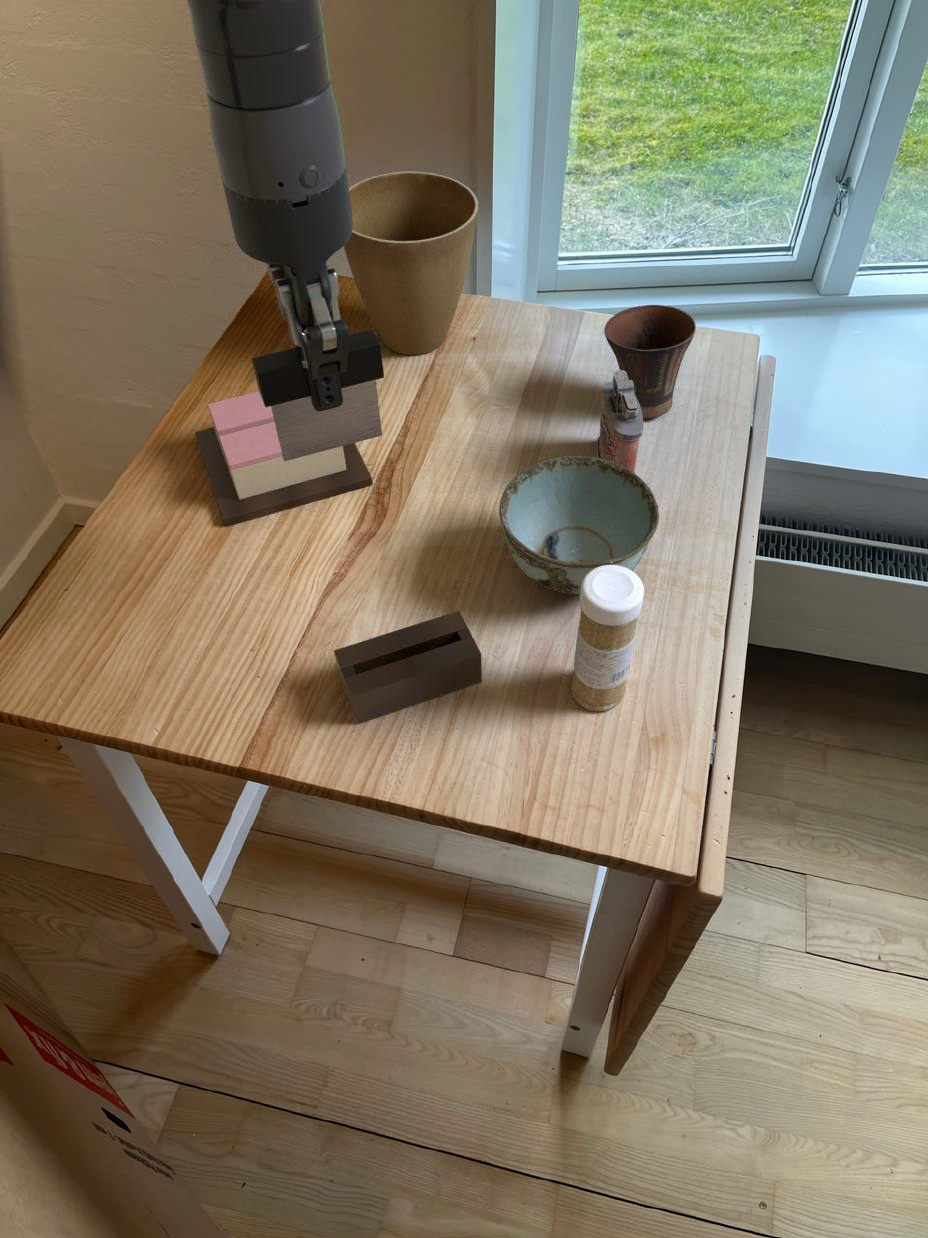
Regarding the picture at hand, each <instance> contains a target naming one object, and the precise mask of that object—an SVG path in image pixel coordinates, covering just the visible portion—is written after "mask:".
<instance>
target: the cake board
mask: <svg viewBox="0 0 928 1238" xmlns="http://www.w3.org/2000/svg"><path fill="white" fill-rule="evenodd" d="M194 435H195V438H196V441H197V444H198V447H199V450H200V453H201V456H202V459H203V462H204V465H205V468H206V471H207V474H208V477H209V481H210V483H211V486H212V489H213V492H214V495H215V498H216V502H217V504H218V508H219V510H220V514H221V516H222V519H223V523H224V526H225V527H230V526H234V525H238V524H240V523H244V522H247V521H251V520H255V519H258V518H262V517H265V516H268V515H272V514H277V513H279V512H282V511H286V510H290V509H292V508H297V507H300V506H304V505H307V504H311V503H314V502H318V501H321V500H325V499H329V498H332V497H335V496H339V495H342V494H346V493H350V492H353V491H356V490H361V489H363V488H367V487H371V486H373V477H372V475H371V474H370V471H369V469H368V467H367V464H366V463H365V461H364V459H363V456H362V454H361V452H360V451H359V449H358V446H357V444H356V443H352V444H348V445H345V446H343V452H344V458H345V464H346V470H344V471H341V472H337V473H333V474H330V475H326V476H323V477H319V478H316V479H312V480H308V481H305V482H301V483H298V484H294V485H291V486H287V487H283V488H280V489H276V490H273V491H269V492H266V493H262V494H258V495H255V496H251V497H248V498H244V499H241V500H239V498H238V495H237V492H236V490H235V487H234V484H233V481H232V478H231V475H230V473H229V469H228V466H227V464H226V461H225V458H224V456H223V453H222V450H221V447H220V444H219V441H218V438H217V435H216V432H215V428H214V426H213V427H208V428H204V429H201V430H198V431H194Z"/></svg>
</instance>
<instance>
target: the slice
mask: <svg viewBox="0 0 928 1238" xmlns="http://www.w3.org/2000/svg"><path fill="white" fill-rule="evenodd" d="M207 408H208V411H209V414H210V417H211V421H212V425H213V427H214V428H215V432H216V435H217V438H218V441H219V444H220V447H221V450H222V453H223V456H224V452H223V449H222V445H221V442H220V439H219V437H221V436H225V435H228V434H232V433H236V432H240V431H243V430H247V429H251V428H255V427H259V426H262V425H266V424H270V423H274V418H273V413H272V409H271V406H270V407H265V405H264V402H263V400H262V397H261V395H260V392H259V390H258V391H255V392H251V393H246V394H242V395H239V396H235V397H234V396H233V397H231V398H227V399H222V400H220V401H216V402H212V403H207ZM224 458H225V456H224ZM225 461H226V459H225ZM226 464H227V463H226Z"/></svg>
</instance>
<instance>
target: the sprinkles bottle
mask: <svg viewBox="0 0 928 1238" xmlns="http://www.w3.org/2000/svg"><path fill="white" fill-rule="evenodd" d="M644 596H645V587H644V583H643V581H642V580H641V578H640V577H639V575H638V574H636V573H635V572H634V571H633V570H632V571H631V570H629V569H628V568H625V567H622V566H618V565H603V566H600V567H597V568H595V569H593V570H591V571H590V572H589V573H588V574H587V575H586V576H585V577H584V579H583V581H582V585H581V591H580V594H579V605H580V613H579V614H580V615H579V621H578V627H577V635H576V641H575V651H574V658H573V659H574V661H573V669H574V670H573V676H572V679H571V685H570V689H571V694H572V697H573V699H575V700H576V702H577V704H579V705H580V706H581V707H583V708H584V709H586V710H589V711H592V712H607V711H610V710H612V709H615V708H616V707H617V706H619V705H620V703H622V701H623V700H624V698H625V694H626V682H627V677H628V675H629V673H630V672H629V671H630V667H631V661H632V656H633V650H634V645H635V639H636V634H637V630H636V629H637V622H638V617H639V615H640V613H641V611H642V608H643V603H644Z"/></svg>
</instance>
